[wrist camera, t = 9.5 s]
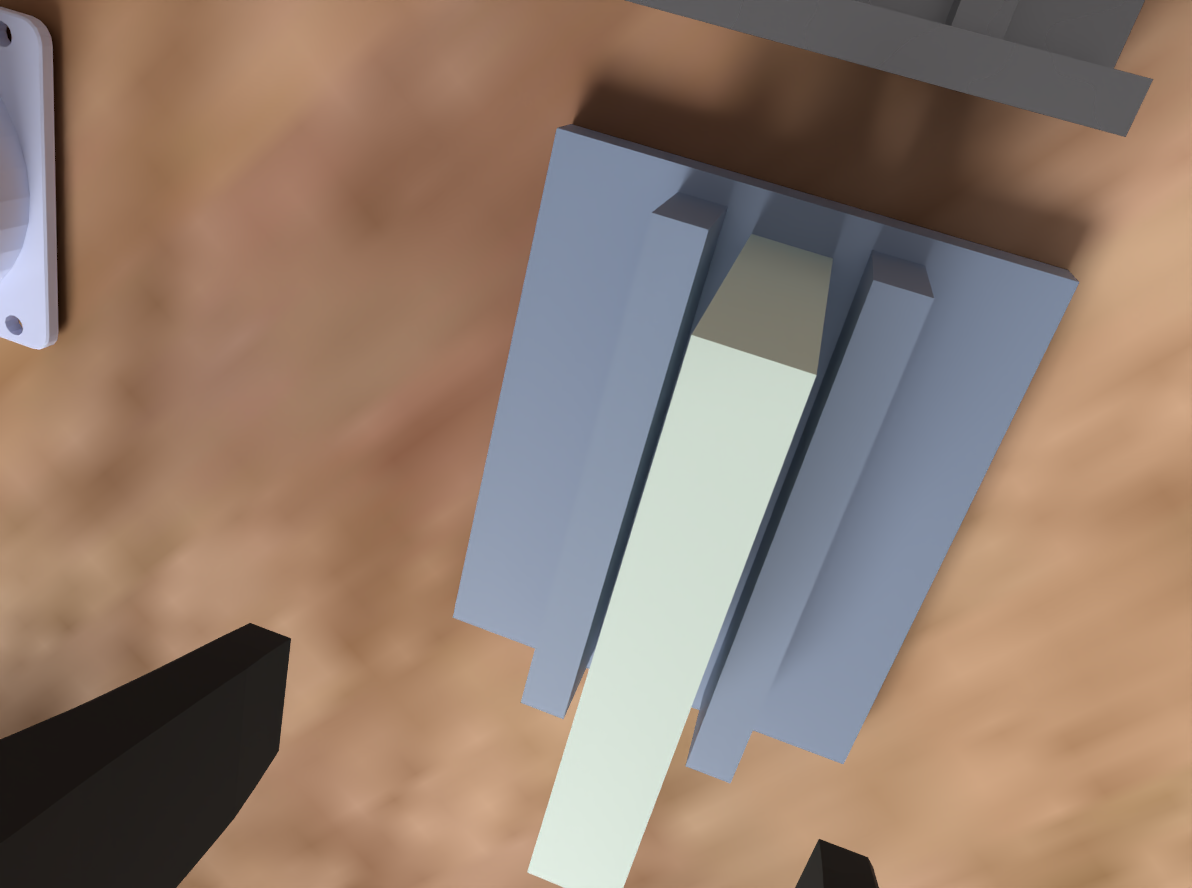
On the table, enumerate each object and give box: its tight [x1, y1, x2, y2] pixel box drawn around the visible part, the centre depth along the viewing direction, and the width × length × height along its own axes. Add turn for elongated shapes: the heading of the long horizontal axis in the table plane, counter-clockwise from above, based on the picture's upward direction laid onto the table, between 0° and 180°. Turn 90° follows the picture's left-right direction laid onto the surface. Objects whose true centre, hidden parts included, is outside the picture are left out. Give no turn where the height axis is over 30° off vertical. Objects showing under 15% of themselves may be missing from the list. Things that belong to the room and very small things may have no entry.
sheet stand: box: [453, 124, 1079, 783], centre depth 19 cm, size 10×12×4 cm
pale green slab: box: [528, 234, 833, 888], centre depth 17 cm, size 2×10×7 cm, turn 167°
